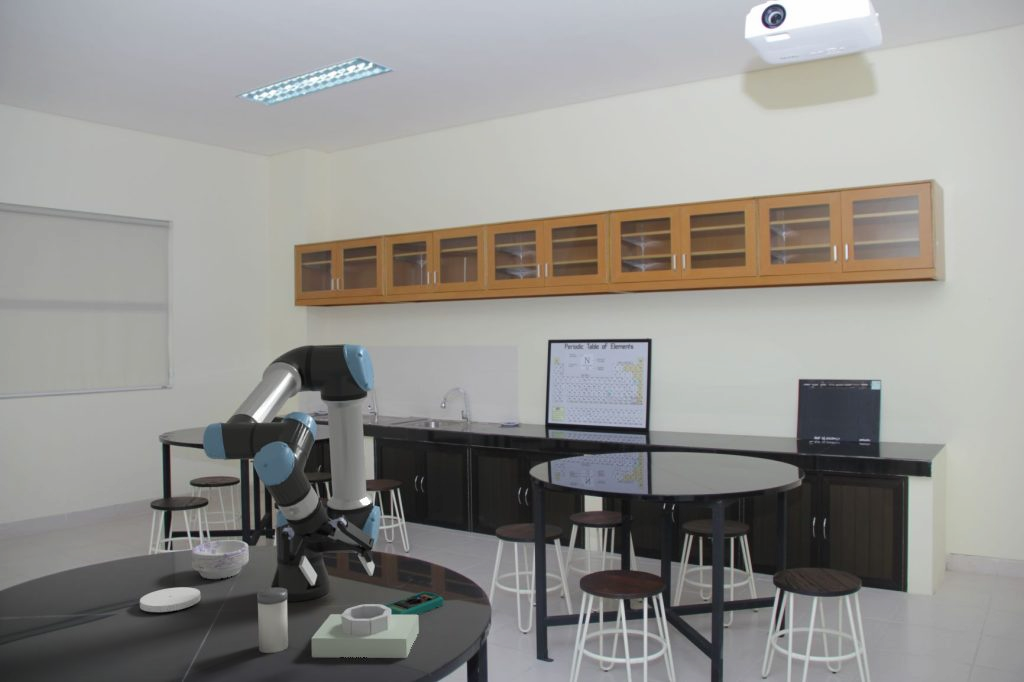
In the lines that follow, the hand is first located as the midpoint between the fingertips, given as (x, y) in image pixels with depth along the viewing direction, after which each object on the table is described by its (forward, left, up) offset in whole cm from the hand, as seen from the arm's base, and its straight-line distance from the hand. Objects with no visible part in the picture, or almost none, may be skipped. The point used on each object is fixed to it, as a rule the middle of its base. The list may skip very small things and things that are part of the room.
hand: (343, 575), depth 175 cm
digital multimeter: (-21, +11, -16) cm, 28 cm away
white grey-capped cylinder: (+2, -15, -15) cm, 21 cm away
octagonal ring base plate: (0, +5, -15) cm, 16 cm away
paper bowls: (-49, -49, -15) cm, 71 cm away
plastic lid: (-24, -51, -15) cm, 58 cm away
